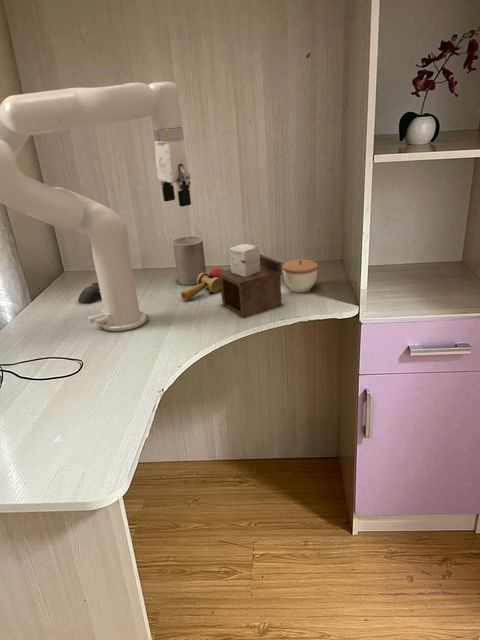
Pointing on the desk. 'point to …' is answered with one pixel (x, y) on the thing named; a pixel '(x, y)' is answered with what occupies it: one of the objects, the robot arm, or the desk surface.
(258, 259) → the white cardboard box
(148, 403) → the desk surface
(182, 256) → the pillar candle
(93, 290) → the computer mouse
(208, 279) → the kendama
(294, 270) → the trinket box
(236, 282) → the shelf
